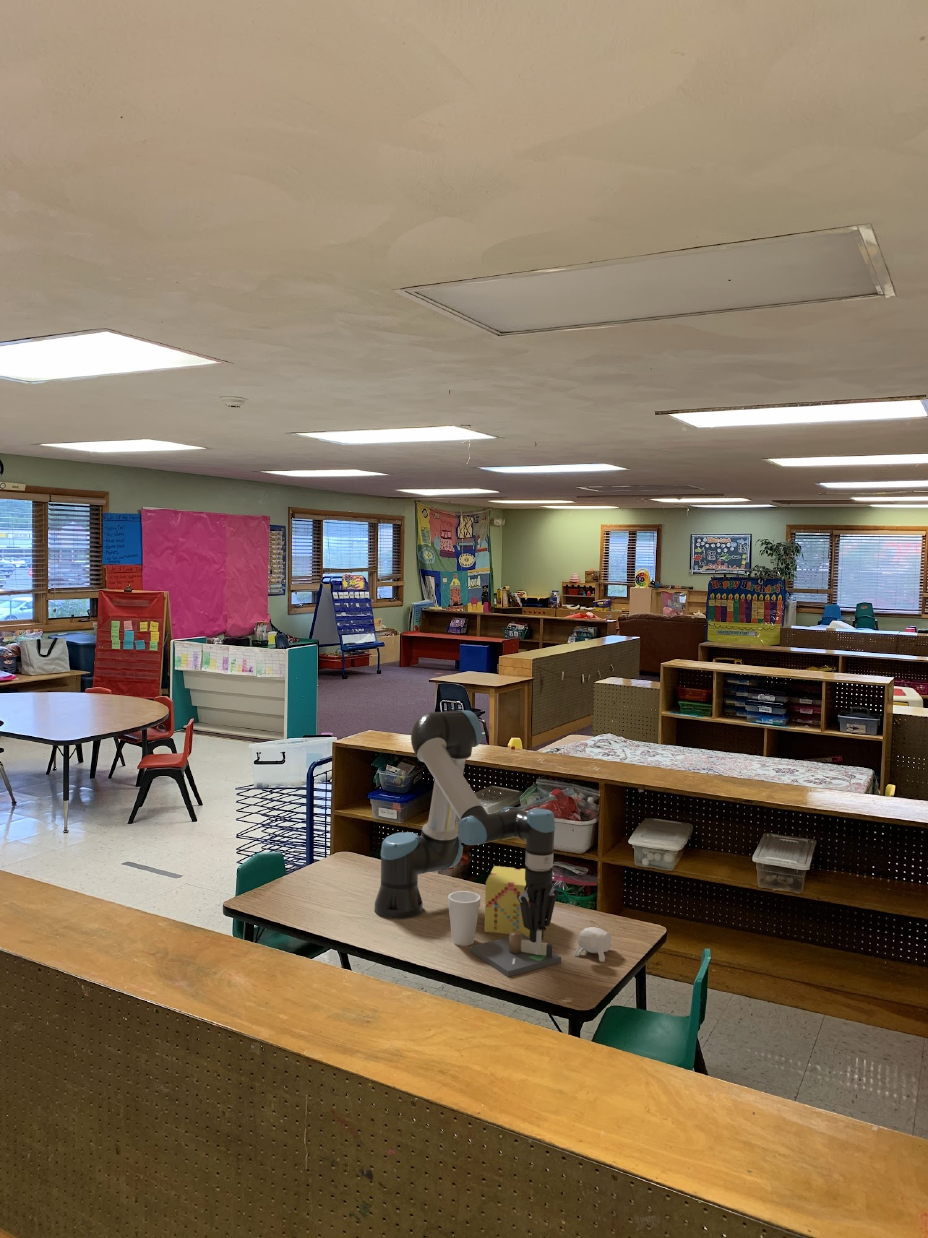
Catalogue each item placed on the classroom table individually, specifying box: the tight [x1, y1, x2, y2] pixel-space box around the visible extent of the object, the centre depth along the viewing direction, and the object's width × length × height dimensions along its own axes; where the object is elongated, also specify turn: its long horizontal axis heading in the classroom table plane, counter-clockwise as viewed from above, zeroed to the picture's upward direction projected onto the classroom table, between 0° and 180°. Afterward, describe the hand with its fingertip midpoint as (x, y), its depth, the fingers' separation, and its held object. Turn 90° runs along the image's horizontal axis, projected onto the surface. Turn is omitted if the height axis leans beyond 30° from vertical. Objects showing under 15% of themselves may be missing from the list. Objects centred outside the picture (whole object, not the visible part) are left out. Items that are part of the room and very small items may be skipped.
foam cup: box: [447, 890, 481, 947], centre depth 248 cm, size 10×9×13 cm
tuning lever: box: [508, 931, 554, 957], centre depth 237 cm, size 12×4×5 cm, turn 71°
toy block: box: [484, 865, 530, 937], centre depth 262 cm, size 15×15×15 cm
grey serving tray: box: [470, 934, 562, 978], centre depth 239 cm, size 18×18×2 cm
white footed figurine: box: [573, 926, 612, 963], centre depth 241 cm, size 8×8×15 cm
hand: (535, 952), depth 235 cm, fingers closed
